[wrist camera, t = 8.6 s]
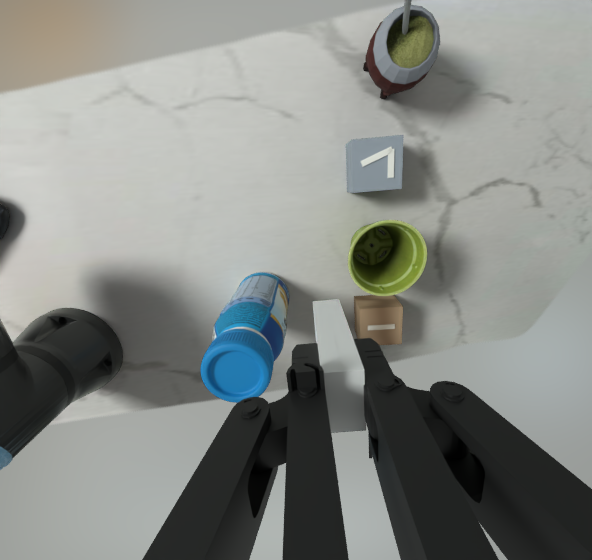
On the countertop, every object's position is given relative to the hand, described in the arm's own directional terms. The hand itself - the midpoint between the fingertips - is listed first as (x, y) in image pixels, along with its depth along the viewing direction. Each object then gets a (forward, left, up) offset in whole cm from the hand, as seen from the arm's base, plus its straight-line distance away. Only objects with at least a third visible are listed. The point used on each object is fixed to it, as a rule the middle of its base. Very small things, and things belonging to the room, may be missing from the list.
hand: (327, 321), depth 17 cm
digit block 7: (+12, +3, -28) cm, 30 cm away
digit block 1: (+1, -16, -28) cm, 32 cm away
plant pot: (+6, -6, -28) cm, 29 cm away
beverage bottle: (-12, -3, -28) cm, 30 cm away
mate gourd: (+19, +12, -28) cm, 36 cm away
